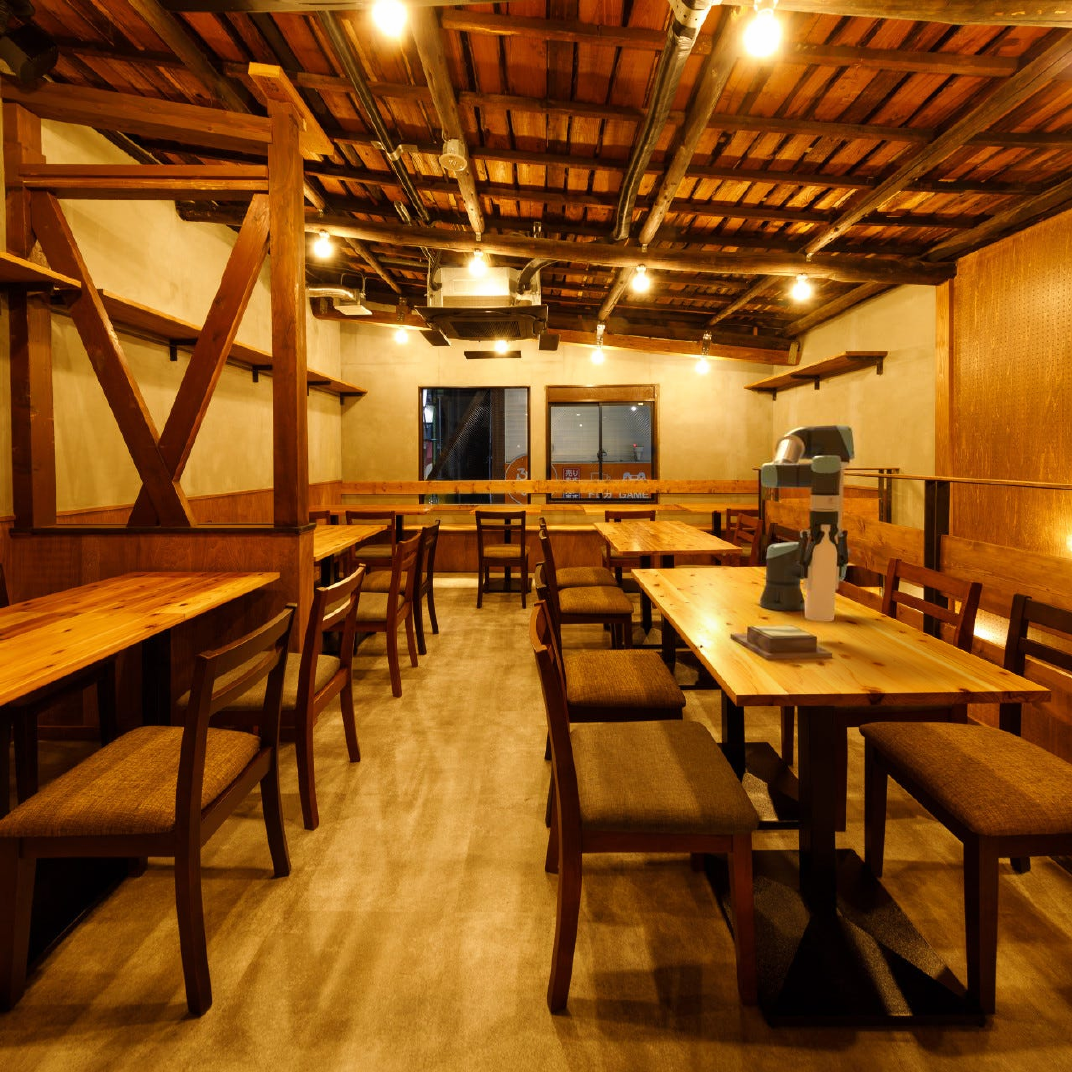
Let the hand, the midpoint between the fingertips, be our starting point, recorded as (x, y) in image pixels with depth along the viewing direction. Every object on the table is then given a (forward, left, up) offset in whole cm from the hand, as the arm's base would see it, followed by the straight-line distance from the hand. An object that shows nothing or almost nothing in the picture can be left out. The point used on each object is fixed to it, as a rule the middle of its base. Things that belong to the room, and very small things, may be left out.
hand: (820, 588), depth 182 cm
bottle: (0, 0, -9) cm, 9 cm away
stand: (+7, -16, -15) cm, 23 cm away
